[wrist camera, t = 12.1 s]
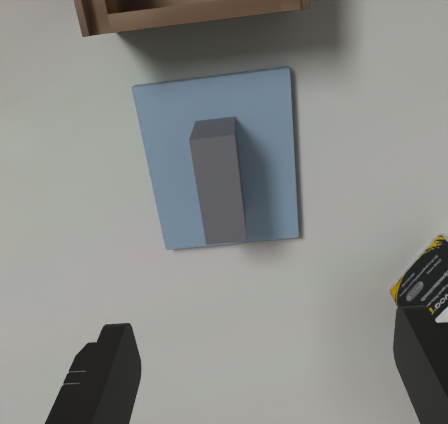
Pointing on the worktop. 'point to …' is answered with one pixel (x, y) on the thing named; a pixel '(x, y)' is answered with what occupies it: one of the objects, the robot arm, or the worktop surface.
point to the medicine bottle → (426, 281)
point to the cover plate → (255, 150)
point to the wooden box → (169, 12)
